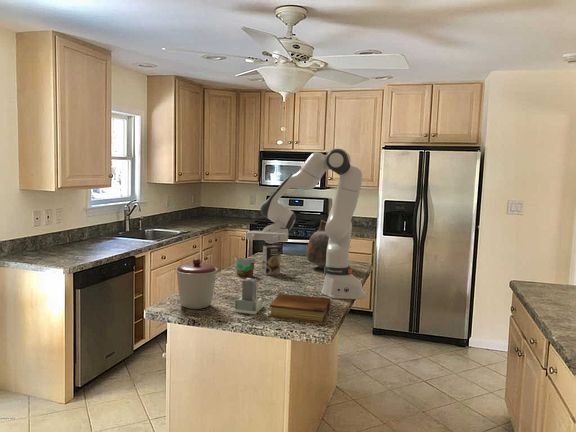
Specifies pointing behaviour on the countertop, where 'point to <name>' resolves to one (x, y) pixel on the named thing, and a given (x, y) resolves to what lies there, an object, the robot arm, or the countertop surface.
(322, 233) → the jug
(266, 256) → the coffee box
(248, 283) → the grey block with knob
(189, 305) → the canister
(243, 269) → the food container
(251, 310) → the pocket
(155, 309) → the countertop surface
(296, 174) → the robot arm
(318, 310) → the diary
